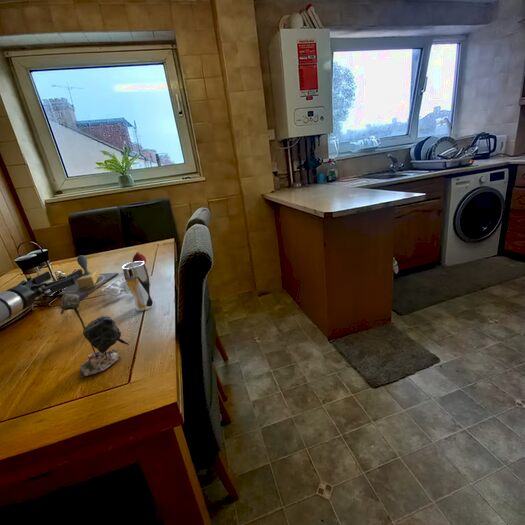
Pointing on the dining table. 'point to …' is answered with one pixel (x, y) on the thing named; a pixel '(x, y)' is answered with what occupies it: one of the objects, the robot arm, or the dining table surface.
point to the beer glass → (139, 284)
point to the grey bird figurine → (96, 338)
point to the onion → (139, 257)
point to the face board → (89, 289)
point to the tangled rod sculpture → (116, 288)
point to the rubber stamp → (86, 274)
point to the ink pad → (80, 295)
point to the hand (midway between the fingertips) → (65, 273)
